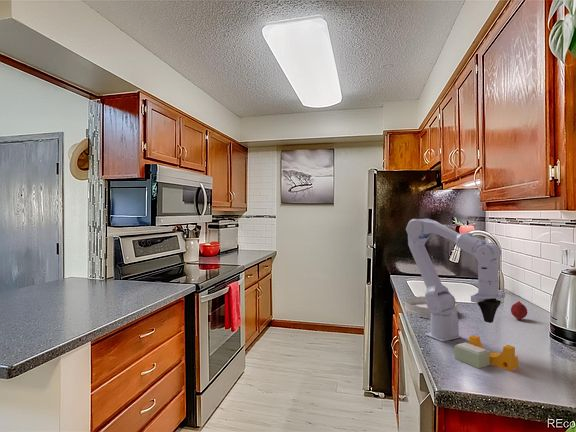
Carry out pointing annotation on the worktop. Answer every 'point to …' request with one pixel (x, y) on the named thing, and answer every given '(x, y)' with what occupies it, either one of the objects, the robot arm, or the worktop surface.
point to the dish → (420, 307)
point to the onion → (518, 310)
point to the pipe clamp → (499, 355)
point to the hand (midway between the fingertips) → (488, 321)
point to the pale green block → (472, 355)
